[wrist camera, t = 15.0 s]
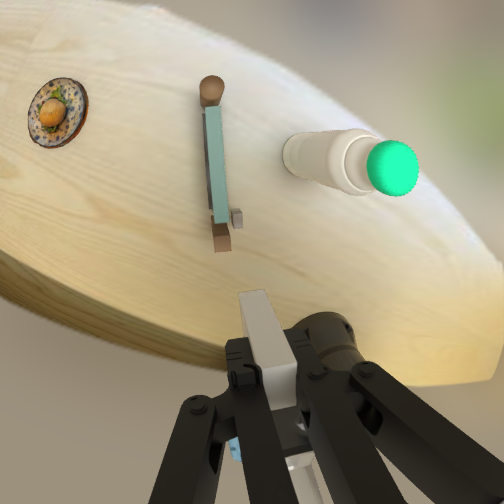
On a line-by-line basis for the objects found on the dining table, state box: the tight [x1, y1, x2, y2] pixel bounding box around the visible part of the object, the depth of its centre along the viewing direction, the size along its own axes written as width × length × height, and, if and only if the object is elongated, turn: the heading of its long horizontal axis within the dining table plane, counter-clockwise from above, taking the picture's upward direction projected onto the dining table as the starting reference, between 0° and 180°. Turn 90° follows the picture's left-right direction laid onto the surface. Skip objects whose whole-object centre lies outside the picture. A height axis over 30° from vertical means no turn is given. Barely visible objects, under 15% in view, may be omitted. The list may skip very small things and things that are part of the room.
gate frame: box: [200, 75, 243, 253], centre depth 36 cm, size 21×4×11 cm, turn 3°
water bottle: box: [283, 129, 419, 196], centre depth 31 cm, size 7×7×25 cm
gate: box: [205, 106, 229, 224], centre depth 36 cm, size 14×2×8 cm, turn 4°
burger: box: [28, 77, 89, 148], centre depth 30 cm, size 12×12×8 cm
